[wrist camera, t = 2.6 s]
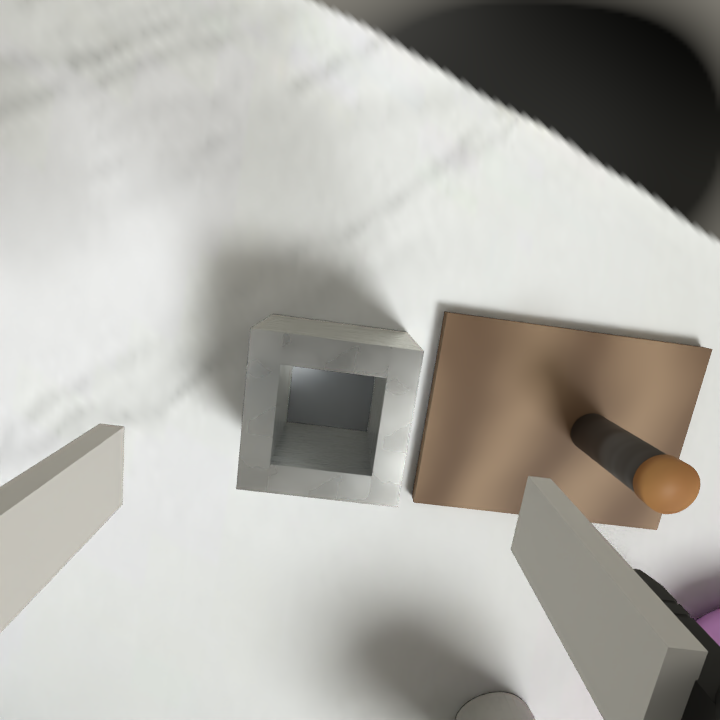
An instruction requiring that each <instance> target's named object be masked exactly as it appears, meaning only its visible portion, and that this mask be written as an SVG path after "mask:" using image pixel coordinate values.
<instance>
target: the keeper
mask: <svg viewBox="0 0 720 720" xmlns="http://www.w3.org/2000/svg"><path fill="white" fill-rule="evenodd" d="M711 352H712V349H709V348H705V347H699V346H692V345H685V344H678V343H670V342H663V341H656V340H648V339H641V338H634V337H626V336H619V335H612V334H605V333H597V332H590V331H583V330H575V329H568V328H561V327H553V326H546V325H539V324H532V323H524V322H517V321H510V320H502V319H495V318H488V317H480V316H473V315H466V314H458V313H451V312H444V318H443V323H442V329H441V334H440V340H439V346H438V351H437V357H436V363H435V368H434V374H433V380H432V385H431V391H430V397H429V402H428V408H427V414H426V419H425V425H424V431H423V436H422V442H421V447H420V453H419V459H418V464H417V470H416V476H415V481H414V487H413V493H412V498H413V502H414V503H423V504H432V505H441V506H450V507H458V508H467V509H476V510H485V511H494V512H503V513H511V514H519V512H520V508H521V504H522V500H523V496H524V491H525V487H526V483H527V479H528V476H533V477H541V478H549V479H551V480H552V481H553V482H554V483H555V484H556V485H557V486H558V487H559V488H560V489H561V490H562V492H563V493H564V494H565V495H566V496H567V497H568V498H569V499H570V500H571V501H572V503H573V504H574V505H575V506H576V507H577V508H578V509H579V510H580V511H581V512H582V514H583V515H584V516H585V517H586V518H587V519H588V520H589V521H590V522H591V523H600V524H609V525H618V526H626V527H635V528H644V529H653V530H657V528H658V525H659V522H660V518H661V515H662V514H673V513H677V512H680V511H682V510H684V509H686V508H687V507H688V506H689V505H691V504H692V503H693V501H694V500H695V499H696V497H697V495H698V493H699V489H700V478H699V475H698V473H697V472H696V470H695V469H694V468H693V467H691V466H690V465H688V464H687V463H685V462H683V461H682V460H680V459H679V456H680V453H681V450H682V447H683V443H684V440H685V437H686V434H687V430H688V427H689V424H690V421H691V417H692V414H693V411H694V408H695V404H696V401H697V398H698V394H699V391H700V388H701V385H702V381H703V378H704V375H705V372H706V368H707V365H708V362H709V359H710V355H711Z"/></svg>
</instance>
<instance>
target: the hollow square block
mask: <svg viewBox="0 0 720 720" xmlns="http://www.w3.org/2000/svg"><path fill="white" fill-rule="evenodd" d="M423 354H424V351H423V349H422V348H421V347H420V346H419V345H418V344H417V343H416V342H415V340H414V339H413V338H412V337H411V336H410V335H409V334H408V332H403V331H395V330H388V329H380V328H373V327H366V326H358V325H351V324H343V323H336V322H328V321H321V320H313V319H306V318H298V317H291V316H283V315H276V314H272V315H270V316H269V317H267V318H266V319H264V320H263V321H261V322H259V323H258V324H256V325H255V326H253V327H252V328H250V338H249V349H248V361H247V372H246V384H245V395H244V407H243V418H242V429H241V441H240V452H239V464H238V475H237V486H236V489H240V490H249V491H258V492H267V493H275V494H284V495H293V496H302V497H311V498H320V499H329V500H338V501H347V502H356V503H365V504H373V505H382V506H391V507H398V501H399V495H400V489H401V483H402V477H403V471H404V465H405V460H406V454H407V448H408V442H409V436H410V430H411V424H412V419H413V413H414V407H415V401H416V395H417V389H418V383H419V378H420V372H421V366H422V360H423ZM293 366H295V367H303V368H311V369H319V370H327V371H334V372H342V373H350V374H358V375H366V376H374V377H375V381H374V387H373V394H372V401H371V407H370V414H369V421H368V428H367V431H360V430H351V429H343V428H335V427H327V426H318V425H310V424H302V423H294V422H287V415H288V406H289V397H290V388H291V378H292V369H293Z"/></svg>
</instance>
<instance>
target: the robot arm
mask: <svg viewBox="0 0 720 720" xmlns="http://www.w3.org/2000/svg"><path fill="white" fill-rule="evenodd" d="M123 463H124V426H115V425H107V424H98V425H97V426H95V427H94V428H92V429H91V430H89V431H87V432H86V433H84V434H83V435H81V436H80V437H78V438H76V439H75V440H73V441H72V442H70V443H69V444H67V445H65V446H64V447H62V448H61V449H59V450H58V451H56V452H54V453H53V454H51V455H50V456H48V457H47V458H45V459H43V460H42V461H40V462H39V463H37V464H36V465H34V466H33V467H31V468H29V469H28V470H26V471H25V472H23V473H22V474H20V475H18V476H17V477H15V478H14V479H12V480H11V481H9V482H7V483H6V484H4V485H3V486H1V487H0V633H1V632H2V631H3V630H4V629H5V628H6V627H7V626H8V625H9V624H10V622H11V621H12V620H13V619H14V618H15V617H16V616H17V615H18V614H19V613H20V612H21V611H22V610H23V609H24V608H25V607H26V606H27V605H28V604H29V603H30V601H31V600H32V599H33V598H34V597H35V596H36V595H37V594H38V593H39V592H40V591H41V590H42V589H43V588H44V587H45V586H46V585H47V584H48V583H49V581H50V580H51V579H52V578H53V577H54V576H55V575H56V574H57V573H58V572H59V571H60V570H61V569H62V568H63V567H64V566H65V565H66V564H67V563H68V562H69V560H70V559H71V558H72V557H73V556H74V555H75V554H76V553H77V552H78V551H79V550H80V549H81V548H82V547H83V546H84V545H85V544H86V543H87V542H88V540H89V539H90V538H91V537H92V536H93V535H94V534H95V533H96V532H97V531H98V530H99V529H100V528H101V527H102V526H103V525H104V524H105V523H106V522H107V521H108V519H109V518H110V517H111V516H112V515H113V514H114V513H115V512H116V511H117V510H118V509H119V508H120V507H121V506H122V503H123ZM511 551H512V553H513V554H514V556H515V558H516V560H517V562H518V564H519V565H520V567H521V569H522V571H523V573H524V575H525V576H526V578H527V580H528V582H529V584H530V586H531V587H532V589H533V591H534V593H535V595H536V596H537V598H538V600H539V602H540V604H541V606H542V607H543V609H544V611H545V613H546V615H547V617H548V618H549V620H550V622H551V624H552V626H553V628H554V629H555V631H556V633H557V635H558V637H559V639H560V640H561V642H562V644H563V646H564V648H565V649H566V651H567V653H568V655H569V657H570V659H571V660H572V662H573V664H574V666H575V668H576V670H577V671H578V673H579V675H580V677H581V679H582V681H583V682H584V684H585V686H586V688H587V690H588V691H589V693H590V695H591V697H592V699H593V701H594V702H595V704H596V706H597V708H598V710H599V712H600V713H601V715H602V717H603V719H604V720H720V646H719V645H718V644H717V643H716V642H715V641H714V640H713V639H712V638H711V637H710V636H709V635H708V633H707V632H706V631H705V630H704V629H703V628H702V627H701V626H700V625H699V624H698V623H697V622H696V621H695V620H694V619H693V618H690V615H689V614H688V613H687V611H686V610H685V609H684V608H683V607H682V606H681V605H680V604H677V601H676V600H675V599H674V598H673V597H672V596H671V595H670V594H669V593H668V592H667V590H666V589H665V588H664V587H663V586H662V585H661V584H659V583H658V582H657V581H655V580H654V579H652V578H651V577H649V576H648V575H647V574H645V573H644V572H642V571H641V570H638V569H633V568H632V567H631V566H630V565H629V564H628V563H627V562H626V561H625V560H624V559H623V558H622V556H621V555H620V554H619V553H618V552H617V551H616V550H615V549H614V548H613V547H612V545H611V544H610V543H609V542H608V541H607V540H606V539H605V538H604V537H603V536H602V534H601V533H600V532H599V531H598V530H597V529H596V528H595V527H594V526H593V525H592V523H591V522H590V521H589V520H588V519H587V518H586V517H585V516H584V515H583V514H582V512H581V511H580V510H579V509H578V508H577V507H576V506H575V505H574V504H573V503H572V501H571V500H570V499H569V498H568V497H567V496H566V495H565V494H564V493H563V492H562V490H561V489H560V488H559V487H558V486H557V485H556V484H555V483H554V482H553V481H552V480H551V479H549V478H541V477H533V476H528V479H527V483H526V487H525V491H524V496H523V500H522V504H521V508H520V512H519V517H518V521H517V525H516V529H515V533H514V537H513V542H512V546H511Z"/></svg>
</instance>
